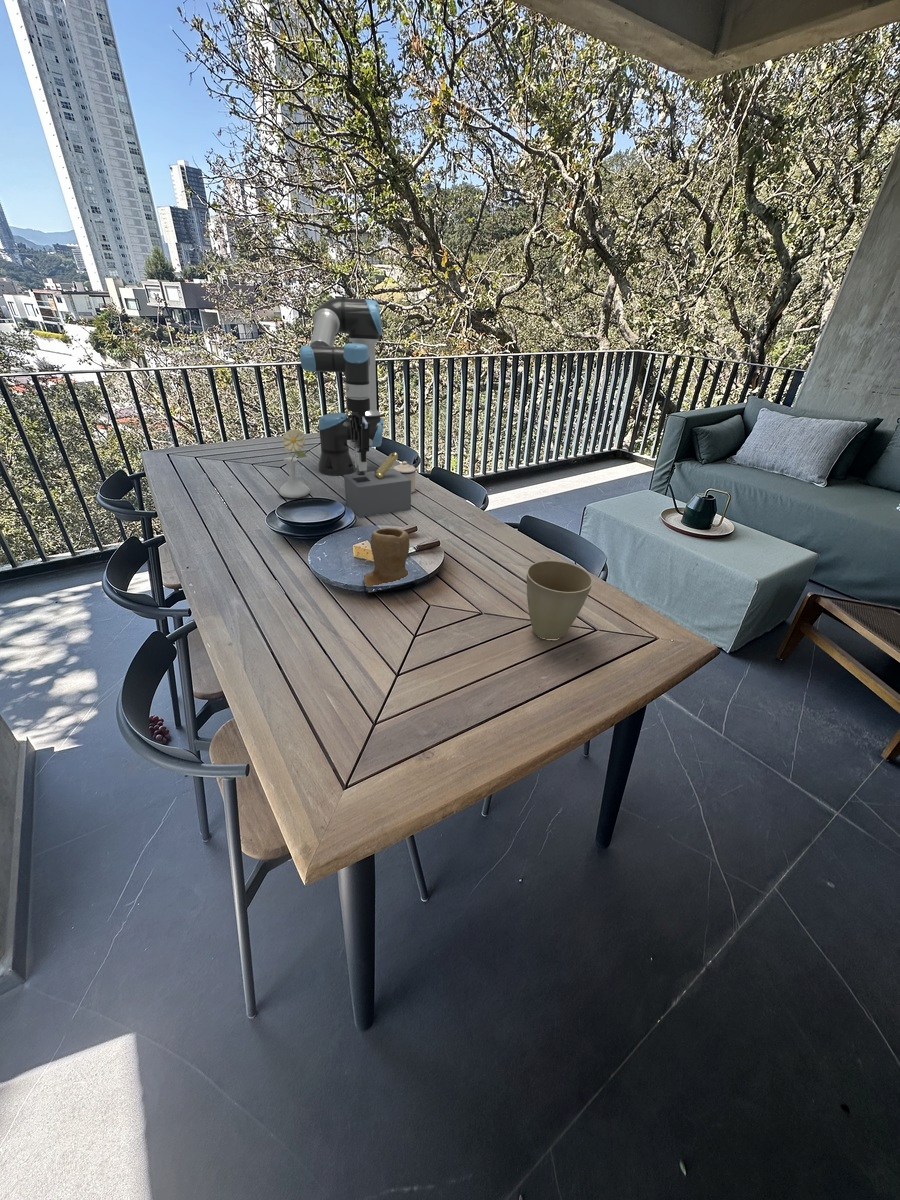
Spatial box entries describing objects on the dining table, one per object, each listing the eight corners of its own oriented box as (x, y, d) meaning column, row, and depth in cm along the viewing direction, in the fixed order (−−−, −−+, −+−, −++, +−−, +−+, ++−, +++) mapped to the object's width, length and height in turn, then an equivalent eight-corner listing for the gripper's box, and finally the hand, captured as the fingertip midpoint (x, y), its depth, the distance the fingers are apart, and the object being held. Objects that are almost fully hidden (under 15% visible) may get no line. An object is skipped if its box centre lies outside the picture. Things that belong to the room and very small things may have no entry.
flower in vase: (272, 497, 187) (262, 428, 173) (291, 488, 196) (283, 422, 182) (301, 503, 183) (294, 434, 169) (319, 494, 192) (313, 427, 178)
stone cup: (402, 567, 145) (403, 519, 137) (420, 586, 137) (422, 536, 129) (353, 578, 139) (350, 528, 131) (368, 598, 130) (366, 546, 122)
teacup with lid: (410, 485, 205) (411, 457, 199) (419, 493, 198) (419, 464, 192) (383, 488, 201) (382, 460, 194) (390, 496, 194) (390, 466, 187)
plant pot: (566, 659, 113) (580, 599, 104) (507, 636, 119) (515, 578, 110) (588, 628, 124) (601, 572, 115) (533, 608, 130) (542, 554, 121)
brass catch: (376, 476, 180) (373, 473, 179) (395, 453, 180) (392, 450, 178) (381, 479, 177) (378, 477, 176) (400, 456, 176) (397, 453, 175)
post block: (345, 503, 185) (343, 474, 179) (394, 496, 194) (394, 468, 188) (359, 517, 175) (358, 487, 169) (410, 509, 183) (411, 480, 178)
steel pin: (348, 474, 174) (346, 440, 168) (370, 471, 177) (369, 438, 171) (351, 476, 171) (350, 442, 165) (373, 474, 175) (372, 440, 169)
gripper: (338, 393, 165) (342, 463, 178) (356, 402, 154) (359, 477, 166) (359, 392, 168) (362, 461, 181) (378, 401, 157) (380, 474, 169)
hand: (361, 468), depth 173 cm, fingers closed on steel pin, 3 cm apart
